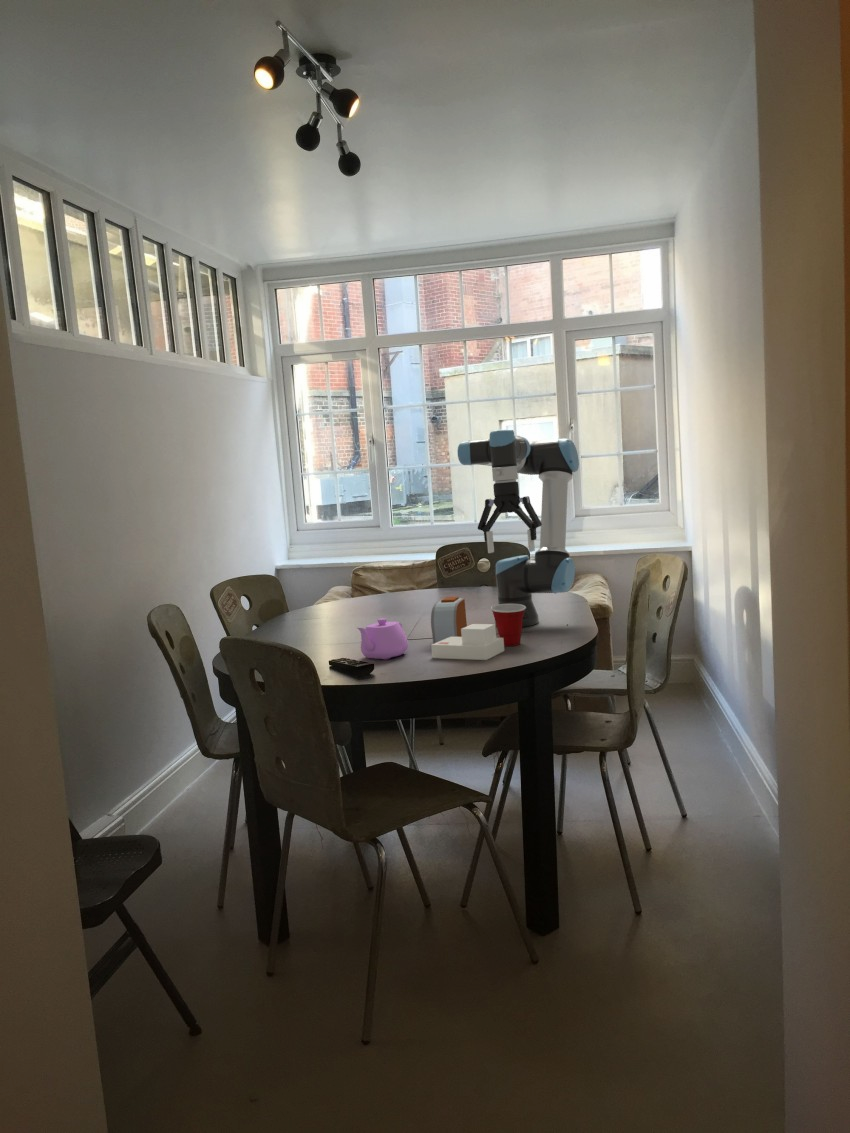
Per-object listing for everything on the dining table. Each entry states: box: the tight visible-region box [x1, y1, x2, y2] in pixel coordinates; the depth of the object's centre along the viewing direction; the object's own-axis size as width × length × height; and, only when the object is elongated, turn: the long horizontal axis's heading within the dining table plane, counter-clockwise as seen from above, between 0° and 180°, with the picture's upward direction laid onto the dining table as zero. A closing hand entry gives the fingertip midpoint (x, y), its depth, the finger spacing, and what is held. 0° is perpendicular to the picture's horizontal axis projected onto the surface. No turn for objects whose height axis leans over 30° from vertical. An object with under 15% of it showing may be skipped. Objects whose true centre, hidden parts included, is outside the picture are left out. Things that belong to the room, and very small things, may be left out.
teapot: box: [357, 617, 409, 661], centre depth 273 cm, size 20×13×12 cm, turn 142°
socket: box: [430, 637, 505, 661], centre depth 266 cm, size 12×18×4 cm, turn 59°
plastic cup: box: [490, 604, 526, 647], centre depth 275 cm, size 11×11×12 cm
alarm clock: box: [430, 596, 468, 644], centre depth 289 cm, size 15×8×14 cm, turn 164°
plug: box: [461, 623, 497, 645], centre depth 264 cm, size 8×8×8 cm
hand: (511, 552), depth 270 cm, fingers open, 13 cm apart
